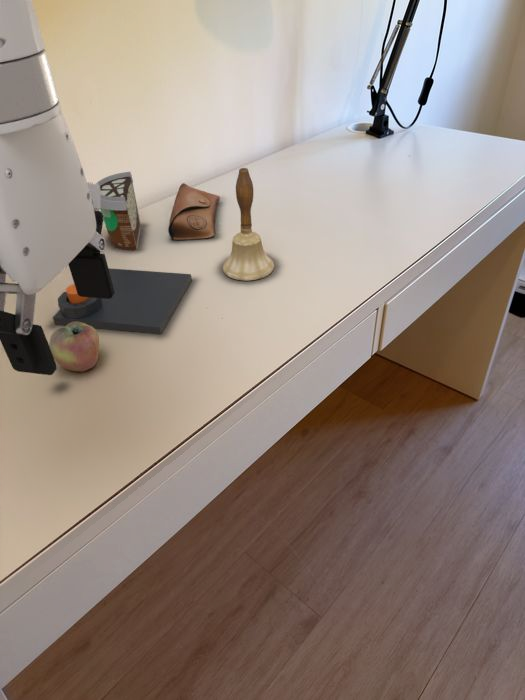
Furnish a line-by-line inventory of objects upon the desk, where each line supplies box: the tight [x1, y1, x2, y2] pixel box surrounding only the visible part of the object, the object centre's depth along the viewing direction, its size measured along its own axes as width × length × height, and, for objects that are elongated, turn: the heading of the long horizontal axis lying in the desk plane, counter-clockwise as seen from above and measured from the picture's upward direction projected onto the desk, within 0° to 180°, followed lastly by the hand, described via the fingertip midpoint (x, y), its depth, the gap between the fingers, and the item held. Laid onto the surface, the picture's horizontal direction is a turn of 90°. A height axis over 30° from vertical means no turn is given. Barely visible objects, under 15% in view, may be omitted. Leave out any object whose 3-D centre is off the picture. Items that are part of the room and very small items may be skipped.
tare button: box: [65, 283, 89, 304], centre depth 74 cm, size 3×3×2 cm
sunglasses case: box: [167, 182, 220, 241], centre depth 99 cm, size 18×7×7 cm
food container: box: [95, 171, 142, 251], centre depth 92 cm, size 12×6×10 cm, turn 6°
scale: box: [52, 267, 193, 335], centre depth 78 cm, size 16×14×3 cm
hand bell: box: [222, 167, 275, 282], centre depth 80 cm, size 8×8×16 cm
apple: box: [48, 322, 100, 372], centre depth 66 cm, size 6×8×6 cm
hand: (69, 330), depth 41 cm, fingers open, 9 cm apart
